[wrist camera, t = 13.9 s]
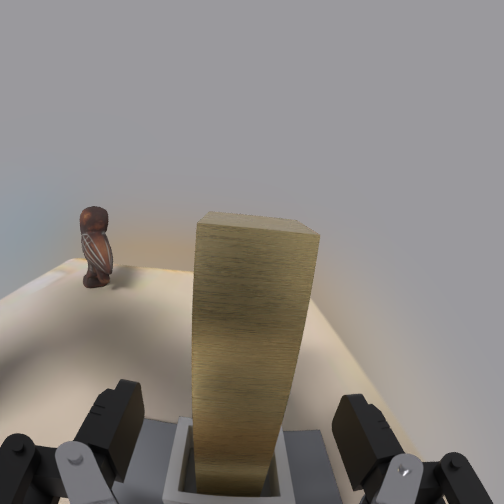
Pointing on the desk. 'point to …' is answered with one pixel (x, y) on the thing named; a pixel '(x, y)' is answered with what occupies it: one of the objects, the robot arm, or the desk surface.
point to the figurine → (96, 246)
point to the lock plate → (187, 500)
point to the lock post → (245, 343)
